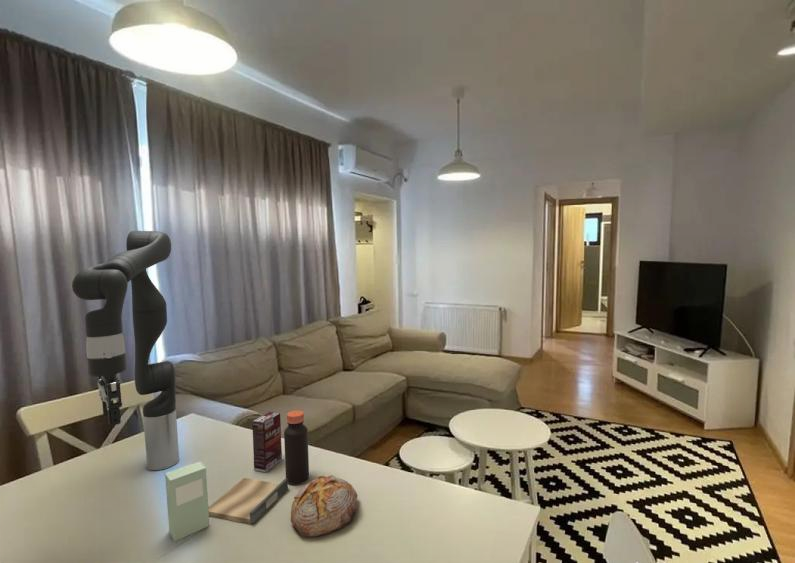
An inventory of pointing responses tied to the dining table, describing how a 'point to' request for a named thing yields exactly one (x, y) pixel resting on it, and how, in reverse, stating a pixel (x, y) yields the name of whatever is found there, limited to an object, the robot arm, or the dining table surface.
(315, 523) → the bread
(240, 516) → the tan flat piece
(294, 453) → the bottle
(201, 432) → the dining table surface
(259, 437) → the supplement box
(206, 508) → the carton
